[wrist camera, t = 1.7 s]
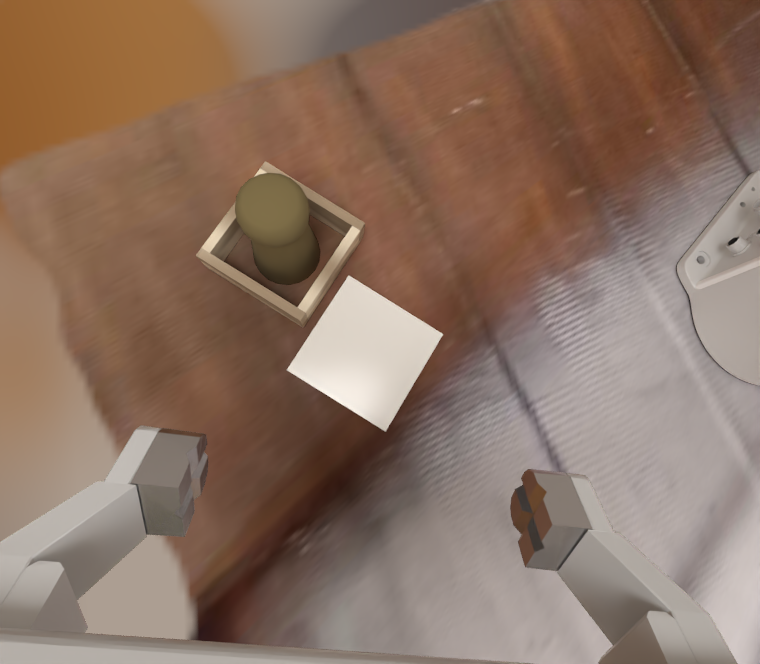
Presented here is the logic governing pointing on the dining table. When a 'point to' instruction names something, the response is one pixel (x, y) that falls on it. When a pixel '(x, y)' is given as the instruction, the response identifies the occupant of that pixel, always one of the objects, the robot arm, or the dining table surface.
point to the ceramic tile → (365, 353)
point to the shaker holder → (214, 260)
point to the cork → (278, 227)
